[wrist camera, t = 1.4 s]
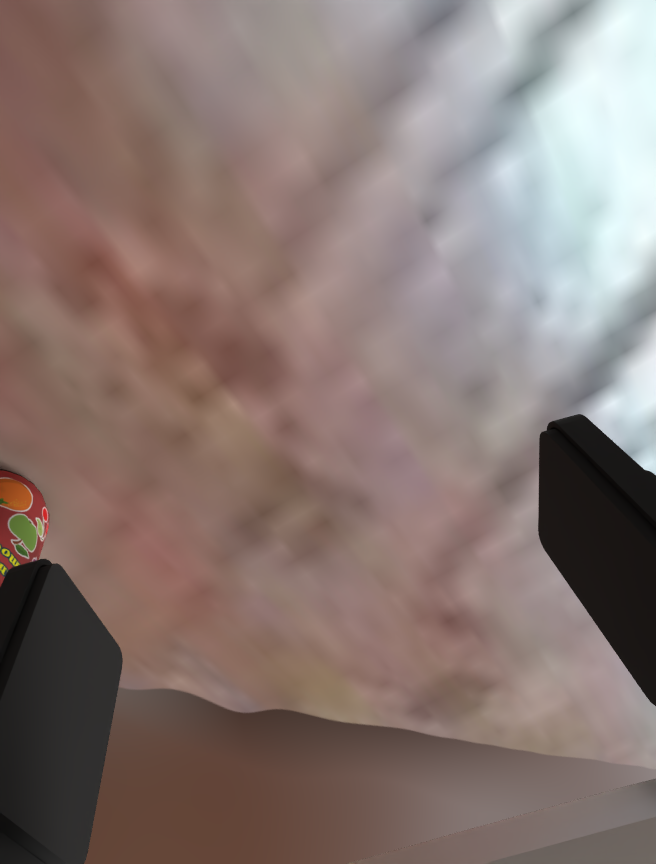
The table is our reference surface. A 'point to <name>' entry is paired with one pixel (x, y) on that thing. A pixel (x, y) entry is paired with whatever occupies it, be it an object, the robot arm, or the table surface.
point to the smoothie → (20, 522)
